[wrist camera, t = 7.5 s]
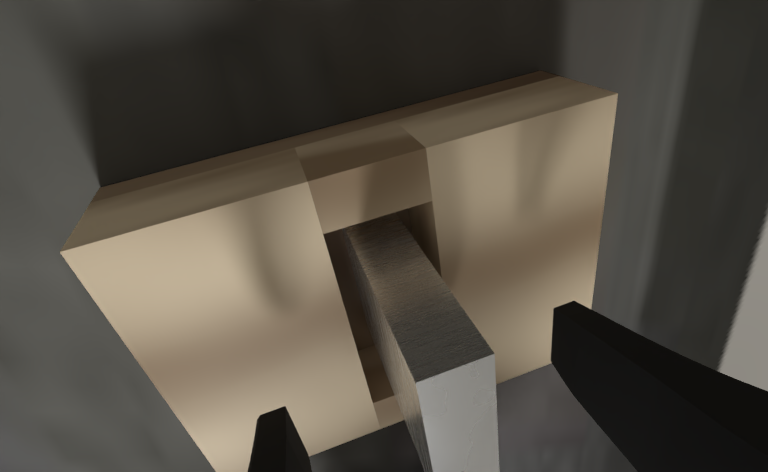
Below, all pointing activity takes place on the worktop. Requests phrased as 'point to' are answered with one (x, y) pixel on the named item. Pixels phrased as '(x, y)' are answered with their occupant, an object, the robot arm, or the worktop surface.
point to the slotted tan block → (331, 259)
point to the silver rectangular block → (426, 349)
